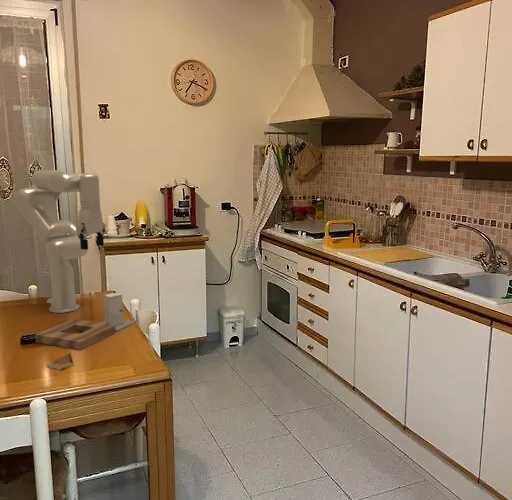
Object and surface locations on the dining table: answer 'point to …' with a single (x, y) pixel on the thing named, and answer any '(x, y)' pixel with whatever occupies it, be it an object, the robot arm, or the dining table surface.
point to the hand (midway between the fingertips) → (92, 247)
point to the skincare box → (113, 308)
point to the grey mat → (122, 325)
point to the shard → (61, 362)
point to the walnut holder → (67, 339)
